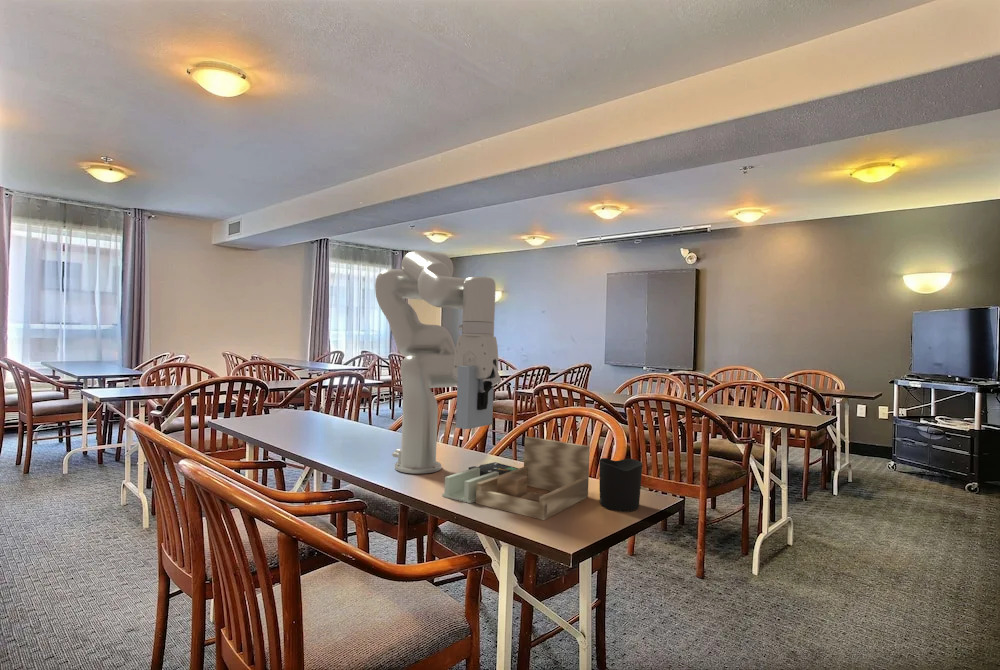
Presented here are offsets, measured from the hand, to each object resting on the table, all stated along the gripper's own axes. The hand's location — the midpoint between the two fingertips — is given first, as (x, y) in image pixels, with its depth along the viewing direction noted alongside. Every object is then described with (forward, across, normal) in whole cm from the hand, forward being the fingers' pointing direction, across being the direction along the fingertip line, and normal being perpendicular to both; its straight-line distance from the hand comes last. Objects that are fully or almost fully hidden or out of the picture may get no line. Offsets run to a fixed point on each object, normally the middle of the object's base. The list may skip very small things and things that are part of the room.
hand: (475, 407), depth 129 cm
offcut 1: (+18, +11, 0) cm, 20 cm away
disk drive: (+21, -3, +17) cm, 27 cm away
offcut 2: (+21, +11, 0) cm, 23 cm away
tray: (+20, +13, +6) cm, 25 cm away
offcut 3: (+21, +17, 0) cm, 27 cm away
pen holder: (+21, +30, +14) cm, 39 cm away
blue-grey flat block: (+4, 0, 0) cm, 4 cm away
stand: (+20, 0, 0) cm, 20 cm away
